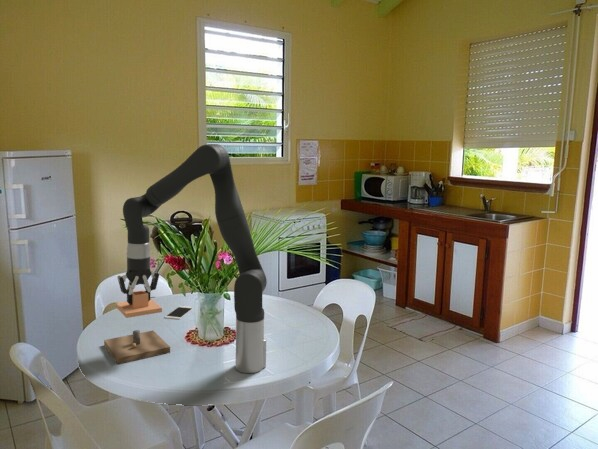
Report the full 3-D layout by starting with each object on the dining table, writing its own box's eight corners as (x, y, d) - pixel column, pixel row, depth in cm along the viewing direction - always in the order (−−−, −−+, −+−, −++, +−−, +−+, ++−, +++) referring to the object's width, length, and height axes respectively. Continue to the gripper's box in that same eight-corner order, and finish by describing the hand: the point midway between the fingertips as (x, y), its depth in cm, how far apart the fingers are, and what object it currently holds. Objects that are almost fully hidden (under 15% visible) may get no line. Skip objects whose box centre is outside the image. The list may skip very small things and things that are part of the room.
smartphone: (194, 308, 215) (194, 306, 214) (179, 320, 200) (179, 318, 199) (179, 307, 216) (179, 305, 216) (164, 319, 201) (164, 316, 201)
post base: (153, 335, 182) (153, 319, 181) (170, 352, 168) (170, 334, 167) (104, 345, 172) (103, 328, 171) (117, 364, 157) (117, 345, 156)
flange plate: (150, 302, 172) (150, 286, 171) (161, 312, 163) (161, 295, 162) (116, 307, 165) (115, 290, 164) (126, 318, 156) (126, 300, 155)
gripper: (120, 259, 154) (120, 309, 157) (163, 255, 162) (162, 303, 165) (113, 254, 160) (114, 303, 163) (155, 251, 168) (155, 297, 171)
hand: (138, 302), depth 164 cm, fingers closed on flange plate, 5 cm apart
